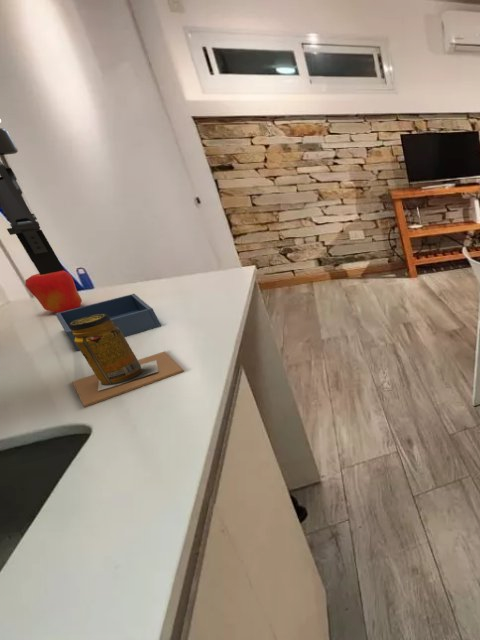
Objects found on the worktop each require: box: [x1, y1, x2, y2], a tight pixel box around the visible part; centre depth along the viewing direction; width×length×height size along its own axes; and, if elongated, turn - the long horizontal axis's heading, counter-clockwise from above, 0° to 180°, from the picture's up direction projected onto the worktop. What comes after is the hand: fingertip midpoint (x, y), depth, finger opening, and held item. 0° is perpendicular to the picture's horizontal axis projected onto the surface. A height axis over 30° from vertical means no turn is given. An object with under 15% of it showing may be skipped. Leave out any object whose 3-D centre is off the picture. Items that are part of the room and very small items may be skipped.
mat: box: [71, 350, 185, 408], centre depth 89 cm, size 14×14×1 cm
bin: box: [54, 293, 162, 352], centre depth 112 cm, size 15×20×4 cm
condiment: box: [69, 314, 158, 391], centre depth 86 cm, size 7×8×12 cm
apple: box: [24, 270, 83, 314], centre depth 125 cm, size 9×8×12 cm
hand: (47, 266), depth 79 cm, fingers open, 13 cm apart
